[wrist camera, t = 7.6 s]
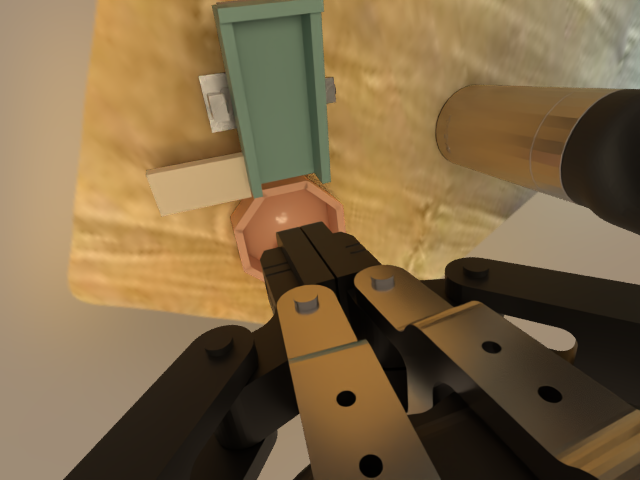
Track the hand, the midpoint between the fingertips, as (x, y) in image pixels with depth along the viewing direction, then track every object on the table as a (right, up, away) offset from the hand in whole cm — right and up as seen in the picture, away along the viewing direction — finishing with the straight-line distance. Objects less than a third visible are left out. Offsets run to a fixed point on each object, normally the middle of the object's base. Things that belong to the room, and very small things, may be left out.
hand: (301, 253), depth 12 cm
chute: (-8, +12, +20) cm, 25 cm away
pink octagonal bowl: (-3, +2, +31) cm, 31 cm away
